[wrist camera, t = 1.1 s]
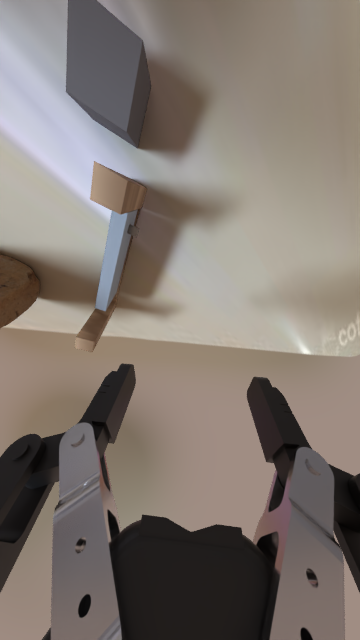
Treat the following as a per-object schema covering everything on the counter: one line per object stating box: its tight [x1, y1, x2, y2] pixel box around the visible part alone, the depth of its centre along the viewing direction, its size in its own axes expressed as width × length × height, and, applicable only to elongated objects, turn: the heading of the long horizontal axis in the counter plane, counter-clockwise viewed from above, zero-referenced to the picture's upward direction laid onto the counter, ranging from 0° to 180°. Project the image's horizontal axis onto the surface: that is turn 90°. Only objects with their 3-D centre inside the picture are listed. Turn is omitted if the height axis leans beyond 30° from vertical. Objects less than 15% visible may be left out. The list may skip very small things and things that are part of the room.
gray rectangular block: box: [66, 0, 151, 148], centre depth 15 cm, size 5×5×6 cm
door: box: [95, 210, 139, 311], centre depth 24 cm, size 3×14×6 cm, turn 154°
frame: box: [75, 161, 147, 352], centre depth 22 cm, size 2×21×12 cm, turn 155°
